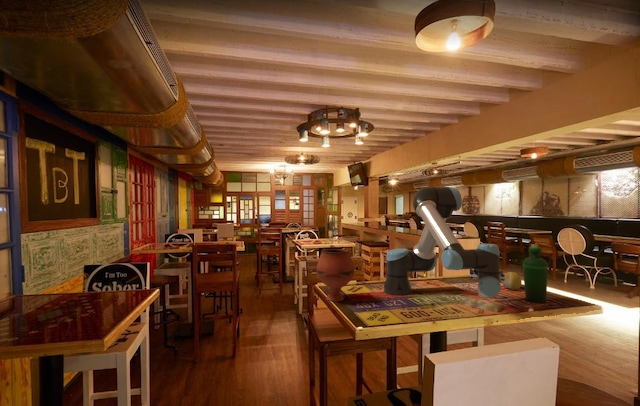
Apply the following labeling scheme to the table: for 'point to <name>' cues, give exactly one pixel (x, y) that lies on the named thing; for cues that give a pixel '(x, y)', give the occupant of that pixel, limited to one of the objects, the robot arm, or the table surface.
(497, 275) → the robot arm
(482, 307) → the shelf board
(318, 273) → the goblet
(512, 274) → the fruit
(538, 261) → the bottle
